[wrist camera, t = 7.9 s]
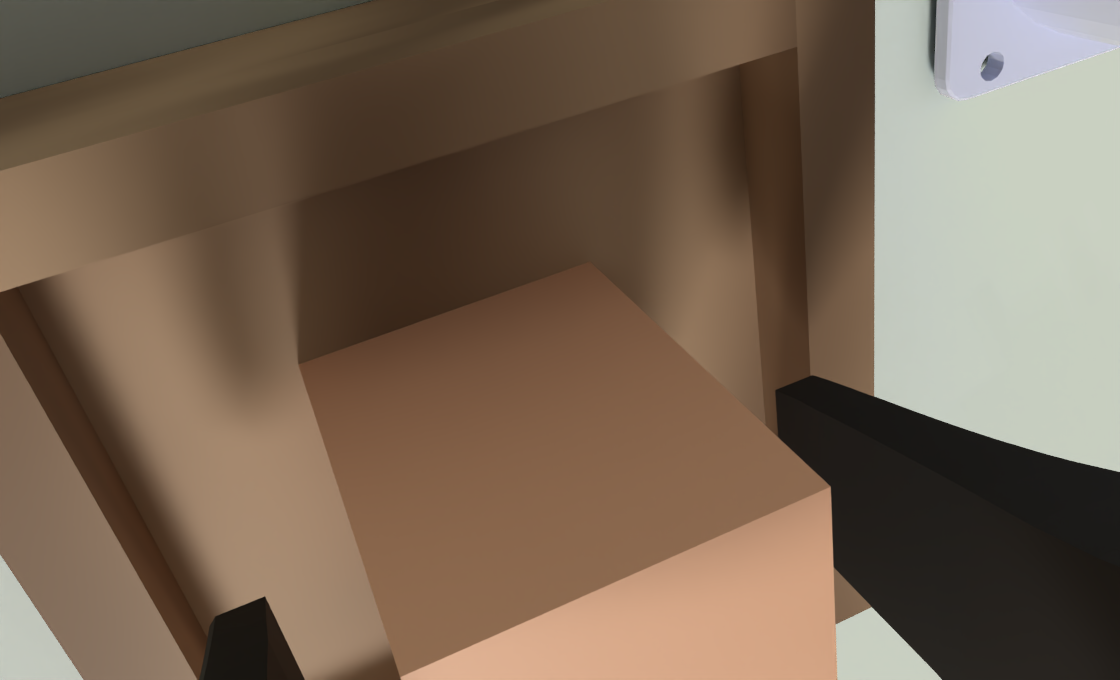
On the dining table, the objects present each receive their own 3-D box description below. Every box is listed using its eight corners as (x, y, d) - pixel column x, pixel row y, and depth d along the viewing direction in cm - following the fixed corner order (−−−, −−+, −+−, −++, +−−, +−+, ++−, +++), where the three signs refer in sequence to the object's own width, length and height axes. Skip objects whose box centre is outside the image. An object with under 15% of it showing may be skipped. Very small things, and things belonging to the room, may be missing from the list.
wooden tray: (730, -94, 15) (874, -74, 12) (772, 501, 21) (873, 606, 19) (-134, 134, 12) (-214, 230, 9) (220, 742, 18) (237, 911, 16)
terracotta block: (589, 261, 14) (830, 486, 10) (630, 486, 17) (839, 759, 12) (298, 364, 13) (400, 677, 8) (385, 589, 16) (504, 934, 11)
